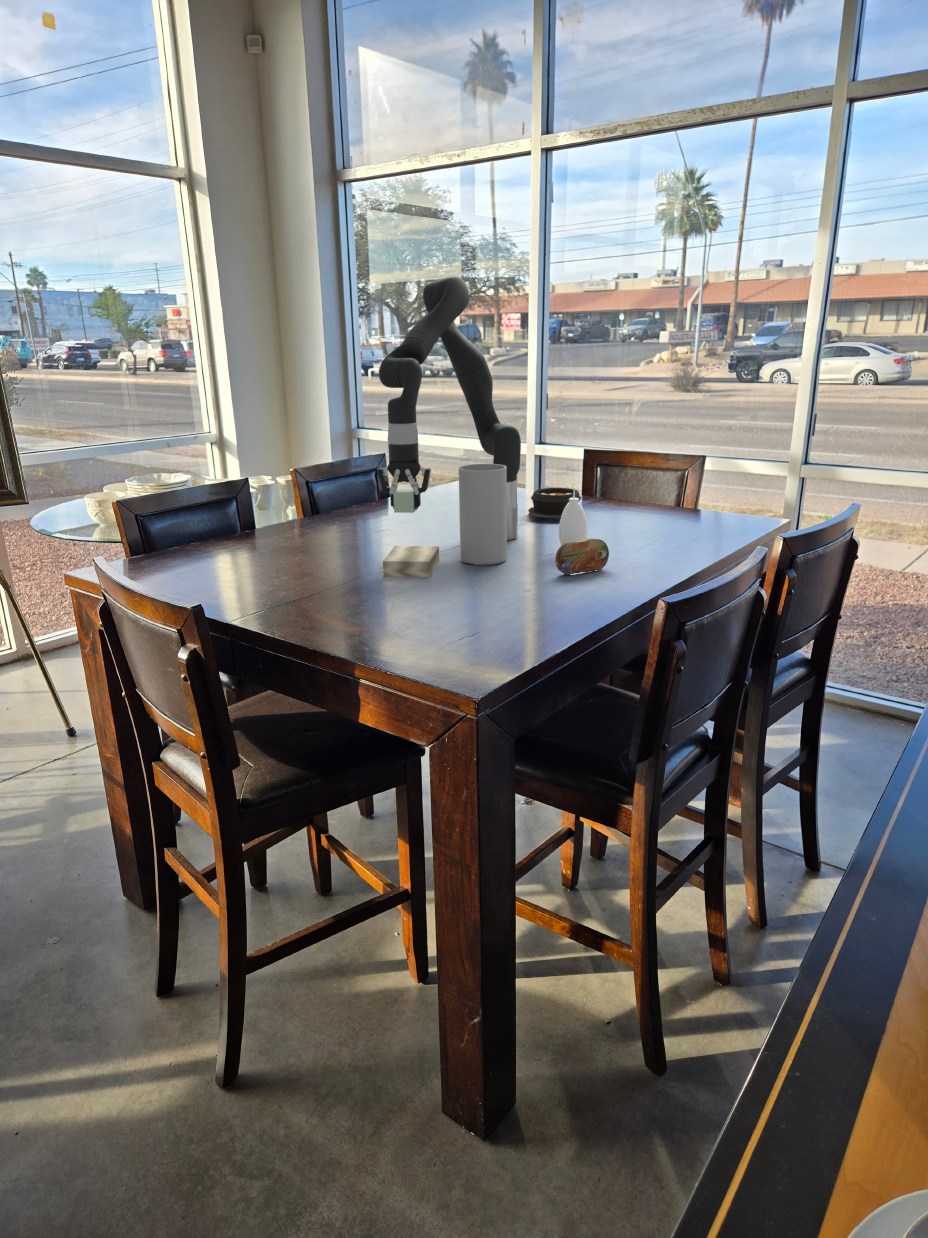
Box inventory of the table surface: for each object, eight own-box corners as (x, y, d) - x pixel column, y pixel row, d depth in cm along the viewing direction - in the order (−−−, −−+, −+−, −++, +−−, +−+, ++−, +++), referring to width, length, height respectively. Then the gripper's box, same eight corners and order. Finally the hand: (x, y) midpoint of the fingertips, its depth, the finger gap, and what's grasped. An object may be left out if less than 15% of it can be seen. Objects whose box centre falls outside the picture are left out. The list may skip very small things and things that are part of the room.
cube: (417, 508, 208) (416, 489, 206) (413, 512, 203) (412, 493, 201) (398, 508, 208) (397, 489, 207) (394, 512, 204) (393, 492, 202)
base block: (439, 560, 216) (438, 546, 215) (430, 576, 201) (429, 561, 200) (395, 560, 217) (395, 545, 216) (383, 576, 202) (382, 561, 201)
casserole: (568, 525, 254) (568, 499, 251) (515, 520, 262) (515, 495, 260) (594, 511, 275) (595, 486, 272) (544, 507, 283) (544, 483, 280)
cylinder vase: (483, 552, 224) (482, 462, 216) (516, 559, 215) (516, 466, 207) (451, 560, 216) (448, 467, 207) (484, 568, 207) (482, 472, 199)
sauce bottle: (586, 557, 216) (588, 491, 210) (557, 556, 217) (558, 490, 212) (587, 550, 223) (589, 486, 217) (559, 549, 225) (560, 485, 219)
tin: (560, 578, 198) (560, 545, 195) (553, 575, 200) (553, 542, 198) (609, 569, 204) (610, 537, 201) (601, 567, 207) (602, 535, 204)
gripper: (433, 439, 203) (435, 506, 208) (378, 439, 205) (382, 505, 210) (428, 443, 196) (430, 511, 201) (371, 442, 197) (375, 510, 203)
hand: (405, 508), depth 205 cm, fingers closed on cube, 5 cm apart
